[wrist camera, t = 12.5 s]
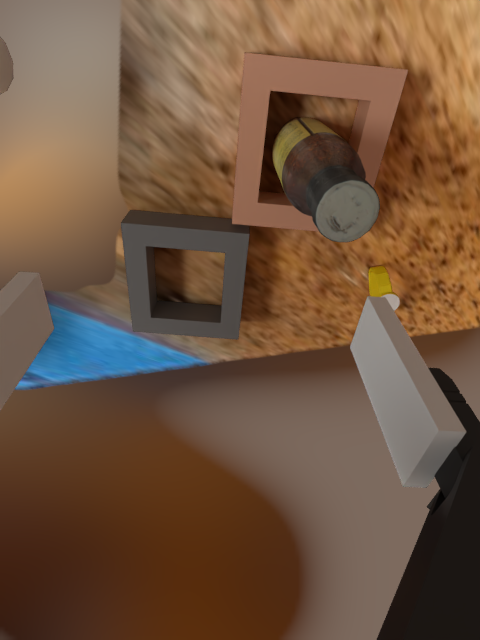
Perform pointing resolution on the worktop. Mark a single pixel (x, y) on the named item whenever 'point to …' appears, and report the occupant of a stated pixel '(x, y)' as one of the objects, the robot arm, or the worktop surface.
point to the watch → (382, 286)
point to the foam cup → (5, 67)
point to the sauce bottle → (325, 179)
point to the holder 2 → (314, 79)
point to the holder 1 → (191, 235)
